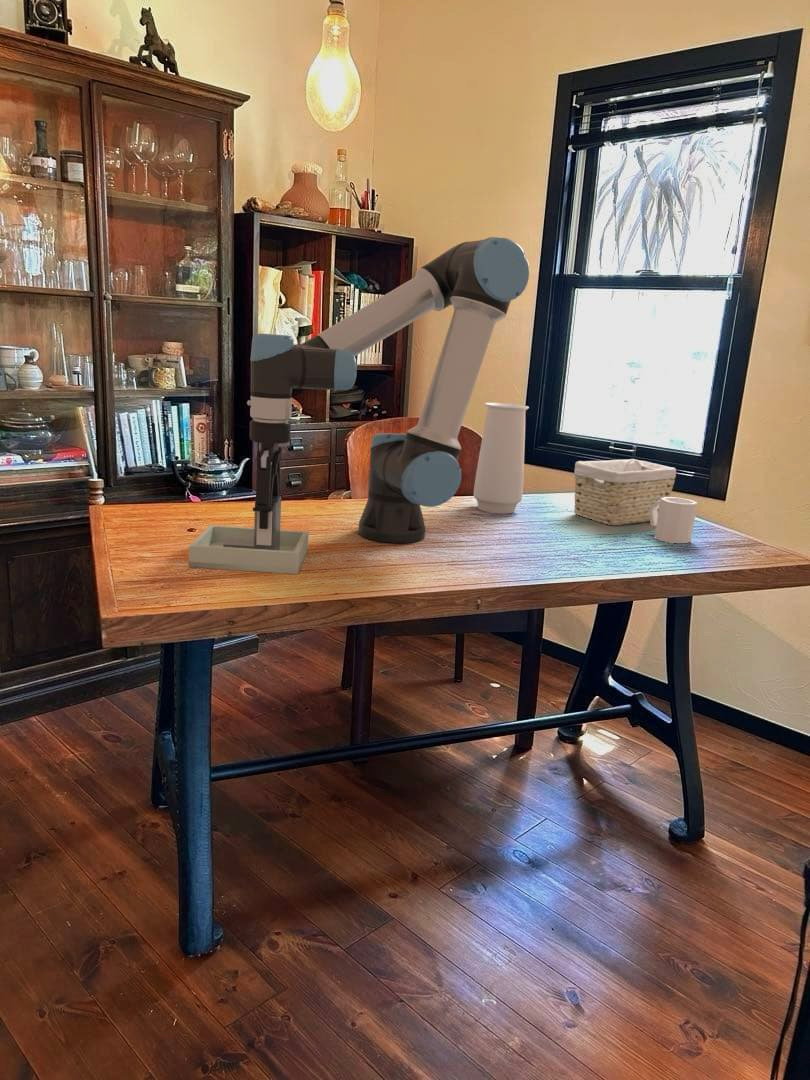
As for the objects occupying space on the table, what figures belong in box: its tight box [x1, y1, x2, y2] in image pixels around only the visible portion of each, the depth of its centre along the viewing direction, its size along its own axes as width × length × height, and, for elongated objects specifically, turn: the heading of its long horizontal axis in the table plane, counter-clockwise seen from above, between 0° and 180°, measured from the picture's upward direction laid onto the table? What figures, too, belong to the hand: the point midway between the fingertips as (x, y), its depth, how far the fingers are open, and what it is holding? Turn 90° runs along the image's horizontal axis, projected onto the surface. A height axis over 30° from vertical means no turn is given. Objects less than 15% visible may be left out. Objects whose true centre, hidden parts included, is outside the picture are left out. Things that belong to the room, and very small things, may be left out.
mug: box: [649, 496, 698, 544], centre depth 189 cm, size 12×9×10 cm
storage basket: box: [573, 458, 677, 526], centre depth 207 cm, size 24×16×15 cm
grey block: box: [223, 495, 282, 551], centre depth 148 cm, size 10×6×11 cm, turn 90°
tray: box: [188, 524, 309, 575], centre depth 149 cm, size 20×16×4 cm
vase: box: [473, 402, 530, 515], centre depth 204 cm, size 13×13×28 cm
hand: (267, 538), depth 148 cm, fingers open, 7 cm apart
